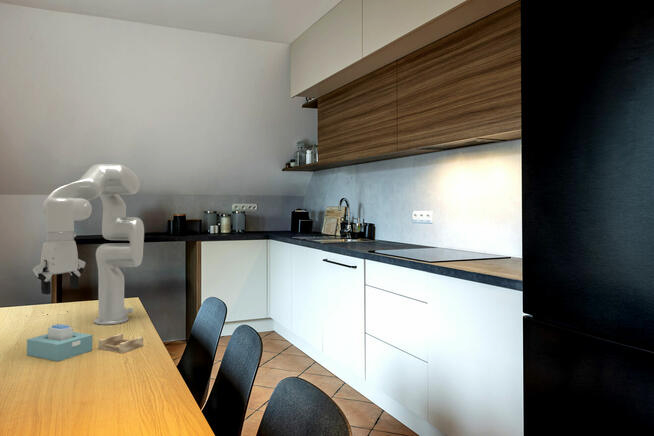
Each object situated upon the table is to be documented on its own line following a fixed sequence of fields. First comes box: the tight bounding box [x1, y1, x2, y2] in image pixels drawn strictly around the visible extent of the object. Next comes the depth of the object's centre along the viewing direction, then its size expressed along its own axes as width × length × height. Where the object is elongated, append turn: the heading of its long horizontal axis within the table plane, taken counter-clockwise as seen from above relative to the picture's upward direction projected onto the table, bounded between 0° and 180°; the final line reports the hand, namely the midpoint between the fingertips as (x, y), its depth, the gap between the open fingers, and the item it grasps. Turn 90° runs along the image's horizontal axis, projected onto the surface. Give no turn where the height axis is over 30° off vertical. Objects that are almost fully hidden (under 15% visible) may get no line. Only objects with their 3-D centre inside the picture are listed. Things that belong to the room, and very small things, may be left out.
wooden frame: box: [98, 333, 144, 354], centre depth 153 cm, size 9×10×3 cm
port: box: [26, 331, 93, 362], centre depth 147 cm, size 12×14×5 cm
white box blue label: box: [47, 323, 74, 341], centre depth 147 cm, size 4×6×8 cm, turn 67°
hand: (60, 291), depth 147 cm, fingers open, 9 cm apart
